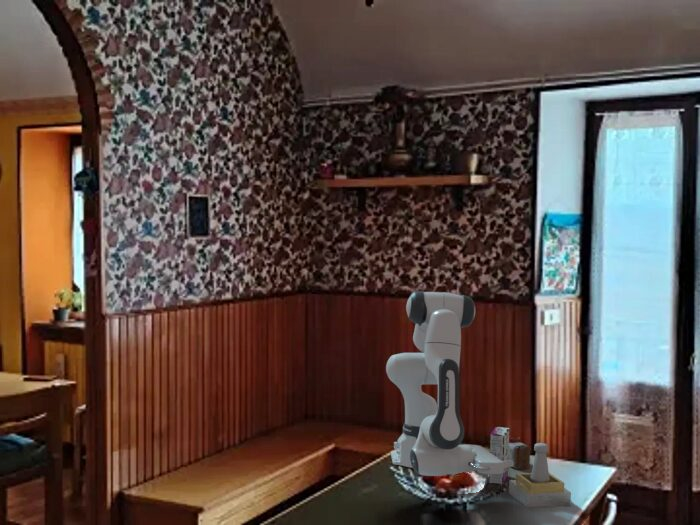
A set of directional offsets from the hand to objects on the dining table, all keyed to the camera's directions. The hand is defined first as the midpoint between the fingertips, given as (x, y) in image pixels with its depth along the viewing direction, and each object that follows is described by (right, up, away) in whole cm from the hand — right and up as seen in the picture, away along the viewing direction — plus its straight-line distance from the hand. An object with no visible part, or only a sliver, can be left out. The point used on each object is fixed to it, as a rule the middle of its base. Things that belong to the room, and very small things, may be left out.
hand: (506, 458), depth 260 cm
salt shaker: (+11, -9, +2) cm, 14 cm away
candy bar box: (+1, -12, +22) cm, 25 cm away
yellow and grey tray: (+11, -13, +3) cm, 17 cm away
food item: (+10, -12, +42) cm, 45 cm away
